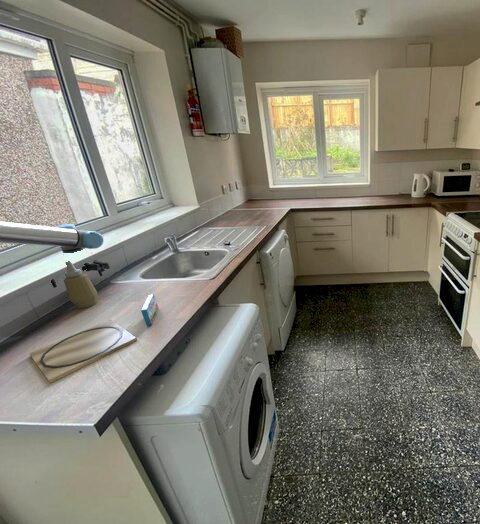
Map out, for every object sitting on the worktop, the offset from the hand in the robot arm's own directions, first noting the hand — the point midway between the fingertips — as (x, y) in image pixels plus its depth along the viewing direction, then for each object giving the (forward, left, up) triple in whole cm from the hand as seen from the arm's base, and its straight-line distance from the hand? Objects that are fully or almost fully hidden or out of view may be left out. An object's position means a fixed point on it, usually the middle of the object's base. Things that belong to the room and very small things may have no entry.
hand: (77, 278), depth 110 cm
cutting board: (+37, -11, -10) cm, 40 cm away
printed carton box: (+37, +8, -10) cm, 39 cm away
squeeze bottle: (+4, -1, -10) cm, 11 cm away
